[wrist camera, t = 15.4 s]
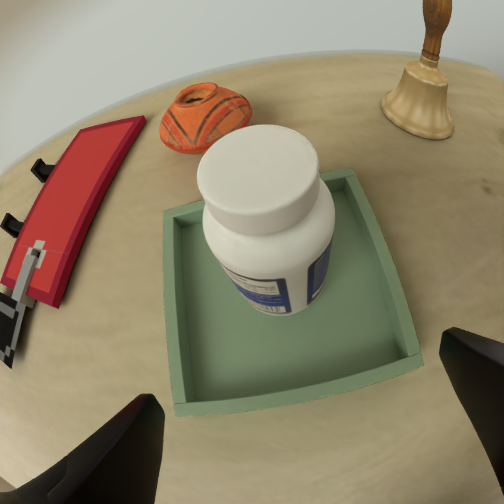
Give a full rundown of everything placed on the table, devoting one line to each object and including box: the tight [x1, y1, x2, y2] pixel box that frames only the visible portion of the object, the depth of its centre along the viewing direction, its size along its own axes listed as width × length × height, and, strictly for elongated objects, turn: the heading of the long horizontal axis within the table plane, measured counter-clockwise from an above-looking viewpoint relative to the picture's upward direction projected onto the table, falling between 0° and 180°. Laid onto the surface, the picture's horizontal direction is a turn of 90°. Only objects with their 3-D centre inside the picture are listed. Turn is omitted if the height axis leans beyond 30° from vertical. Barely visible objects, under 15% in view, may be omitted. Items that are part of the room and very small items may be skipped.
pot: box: [160, 83, 252, 154], centre depth 22 cm, size 8×8×7 cm
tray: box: [163, 168, 424, 417], centre depth 16 cm, size 14×14×2 cm
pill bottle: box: [197, 124, 335, 316], centre depth 13 cm, size 5×5×10 cm
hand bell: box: [381, 0, 454, 140], centre depth 15 cm, size 8×8×16 cm
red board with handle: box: [0, 115, 146, 369], centre depth 23 cm, size 30×3×15 cm
